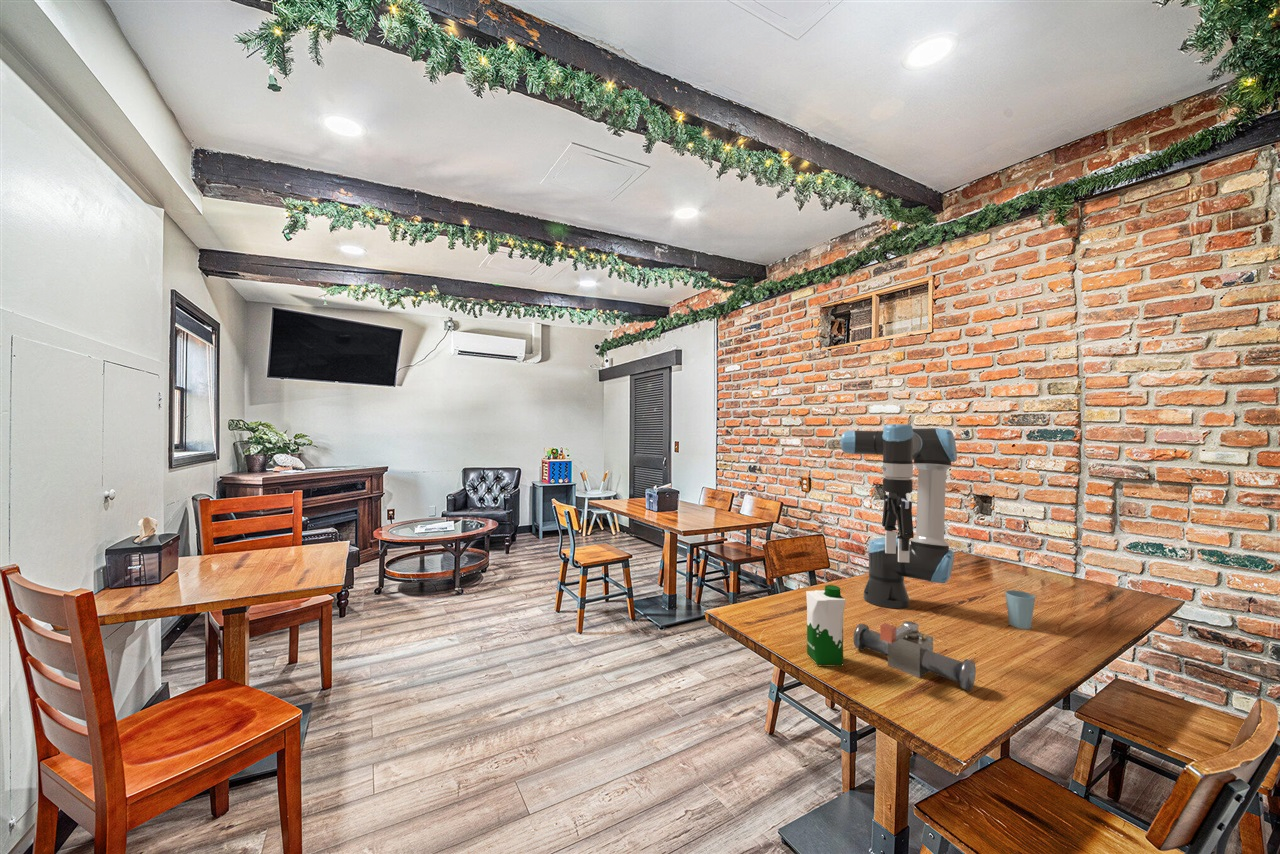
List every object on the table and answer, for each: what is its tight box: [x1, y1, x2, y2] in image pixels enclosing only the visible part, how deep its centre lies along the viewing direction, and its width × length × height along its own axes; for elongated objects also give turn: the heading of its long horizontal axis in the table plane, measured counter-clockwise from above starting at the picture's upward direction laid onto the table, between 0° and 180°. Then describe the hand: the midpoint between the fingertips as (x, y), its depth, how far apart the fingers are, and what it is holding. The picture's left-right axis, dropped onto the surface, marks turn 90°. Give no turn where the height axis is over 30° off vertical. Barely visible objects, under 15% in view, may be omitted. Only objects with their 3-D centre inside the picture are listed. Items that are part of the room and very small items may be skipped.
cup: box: [1004, 589, 1036, 630], centre depth 157 cm, size 8×8×10 cm
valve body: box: [853, 623, 977, 692], centre depth 129 cm, size 28×8×10 cm, turn 37°
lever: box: [879, 620, 919, 644], centre depth 125 cm, size 15×4×4 cm, turn 127°
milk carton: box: [805, 584, 846, 666], centre depth 132 cm, size 9×9×20 cm
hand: (896, 557), depth 137 cm, fingers open, 9 cm apart
